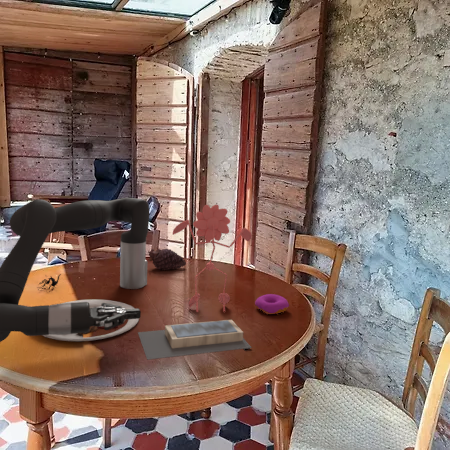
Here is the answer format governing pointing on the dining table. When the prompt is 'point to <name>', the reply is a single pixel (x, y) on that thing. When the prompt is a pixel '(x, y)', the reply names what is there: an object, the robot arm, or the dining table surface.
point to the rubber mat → (161, 348)
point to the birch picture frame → (203, 333)
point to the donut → (272, 303)
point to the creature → (49, 282)
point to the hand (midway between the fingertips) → (140, 313)
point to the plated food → (79, 336)
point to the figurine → (212, 229)
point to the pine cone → (166, 259)
